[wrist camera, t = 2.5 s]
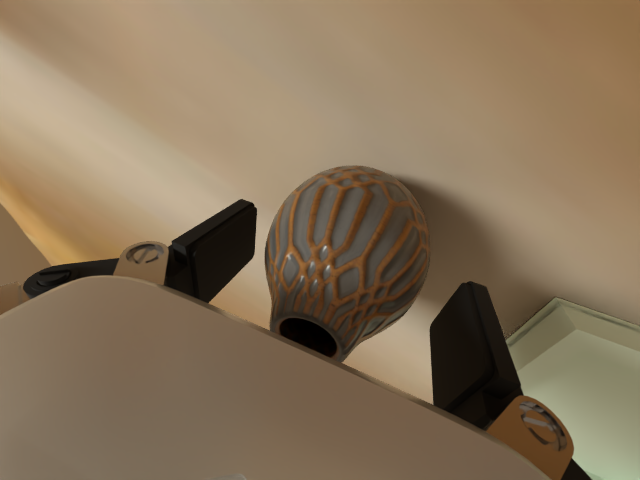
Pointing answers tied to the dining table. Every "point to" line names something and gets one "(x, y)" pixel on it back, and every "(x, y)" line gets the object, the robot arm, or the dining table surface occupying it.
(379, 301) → the vase
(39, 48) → the dining table surface
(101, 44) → the dining table surface
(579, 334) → the tray
